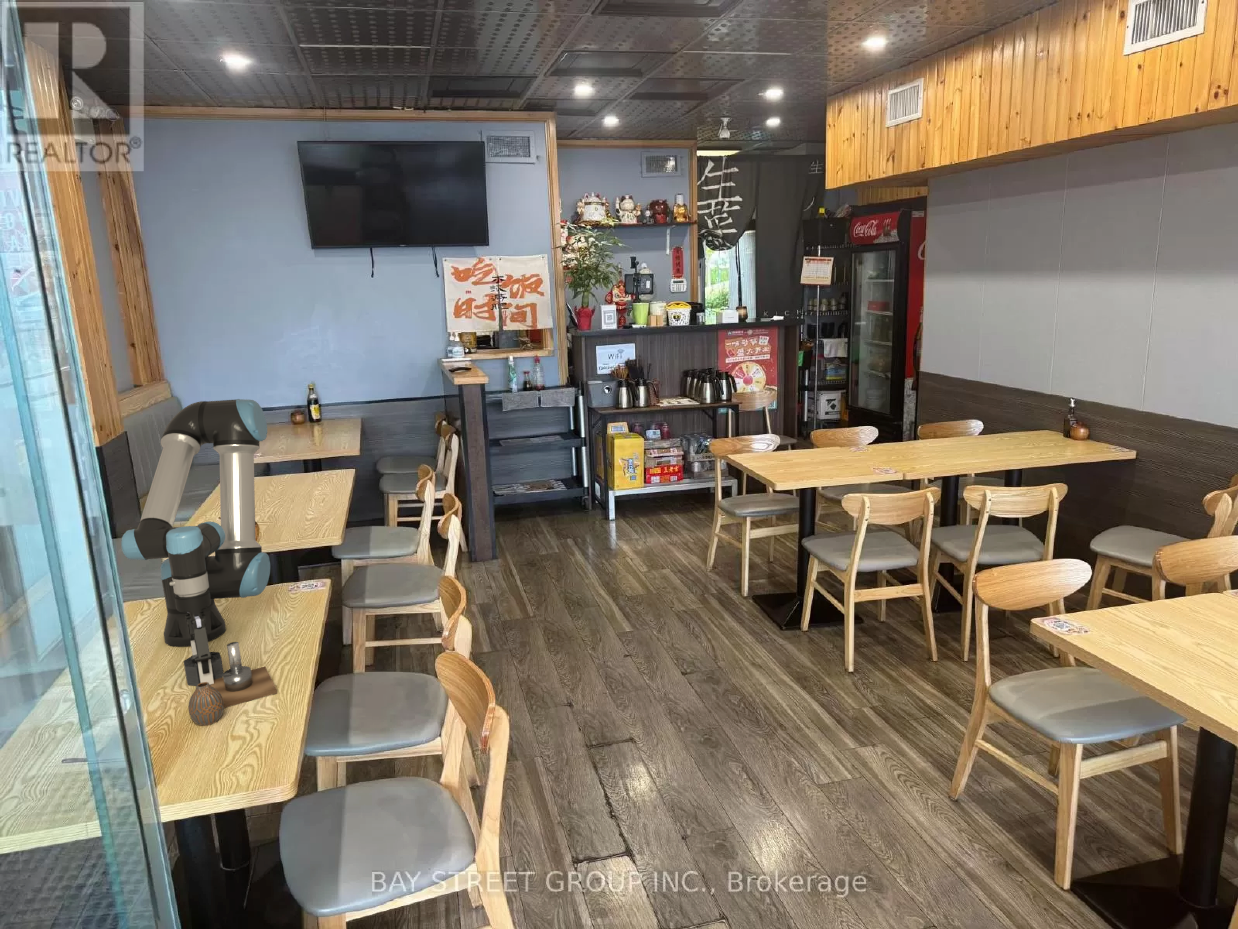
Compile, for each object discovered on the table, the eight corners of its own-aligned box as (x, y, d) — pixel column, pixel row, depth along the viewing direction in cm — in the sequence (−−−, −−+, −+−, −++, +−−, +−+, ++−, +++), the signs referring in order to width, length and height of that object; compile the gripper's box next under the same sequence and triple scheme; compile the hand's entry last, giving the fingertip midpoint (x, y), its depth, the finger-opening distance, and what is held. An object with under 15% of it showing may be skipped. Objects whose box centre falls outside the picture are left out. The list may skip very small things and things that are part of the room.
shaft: (223, 684, 197) (216, 643, 195) (250, 677, 200) (244, 636, 198) (227, 694, 192) (220, 652, 190) (254, 686, 195) (248, 645, 193)
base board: (203, 687, 199) (202, 682, 198) (265, 670, 206) (265, 666, 205) (211, 711, 187) (210, 706, 187) (276, 693, 194) (276, 688, 194)
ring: (185, 676, 204) (182, 657, 203) (221, 667, 209) (218, 649, 207) (189, 689, 198) (185, 670, 197) (225, 679, 202) (222, 660, 201)
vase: (216, 709, 188) (211, 674, 186) (231, 719, 183) (225, 682, 181) (185, 722, 183) (179, 686, 181) (200, 732, 178) (193, 695, 176)
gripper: (169, 581, 207) (181, 660, 211) (179, 610, 186) (192, 698, 190) (202, 574, 210) (213, 653, 215) (216, 603, 190) (228, 689, 194)
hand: (203, 674), depth 202 cm, fingers open, 13 cm apart
